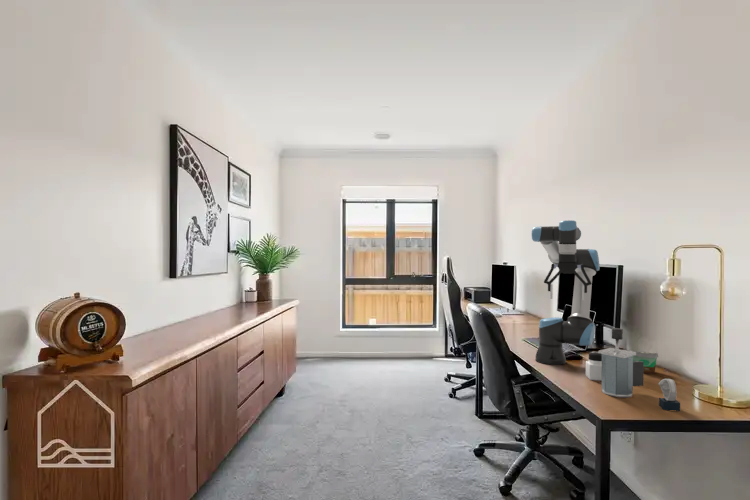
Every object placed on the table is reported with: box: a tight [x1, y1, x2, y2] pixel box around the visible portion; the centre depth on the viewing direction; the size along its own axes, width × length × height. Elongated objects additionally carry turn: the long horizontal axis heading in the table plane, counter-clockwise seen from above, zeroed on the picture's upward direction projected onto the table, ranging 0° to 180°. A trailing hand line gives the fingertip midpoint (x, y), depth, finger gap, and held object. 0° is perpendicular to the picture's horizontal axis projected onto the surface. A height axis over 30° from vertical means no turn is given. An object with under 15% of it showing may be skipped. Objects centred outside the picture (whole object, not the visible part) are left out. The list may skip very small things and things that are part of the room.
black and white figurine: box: [585, 351, 602, 382], centre depth 203 cm, size 7×7×12 cm
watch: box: [658, 378, 681, 412], centre depth 165 cm, size 6×8×11 cm
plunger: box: [611, 327, 624, 352], centre depth 182 cm, size 9×9×23 cm
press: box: [597, 347, 645, 399], centre depth 183 cm, size 16×12×17 cm
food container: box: [630, 349, 659, 375], centre depth 214 cm, size 12×6×10 cm, turn 73°
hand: (567, 299), depth 203 cm, fingers open, 13 cm apart
